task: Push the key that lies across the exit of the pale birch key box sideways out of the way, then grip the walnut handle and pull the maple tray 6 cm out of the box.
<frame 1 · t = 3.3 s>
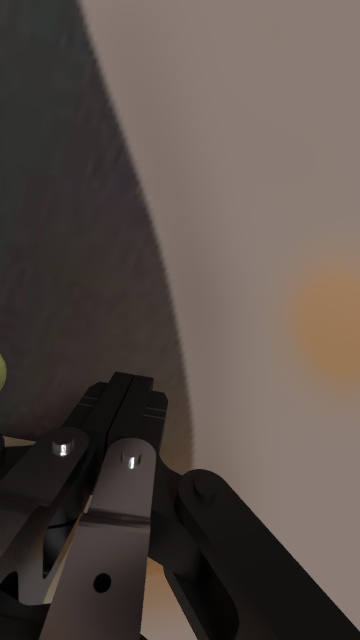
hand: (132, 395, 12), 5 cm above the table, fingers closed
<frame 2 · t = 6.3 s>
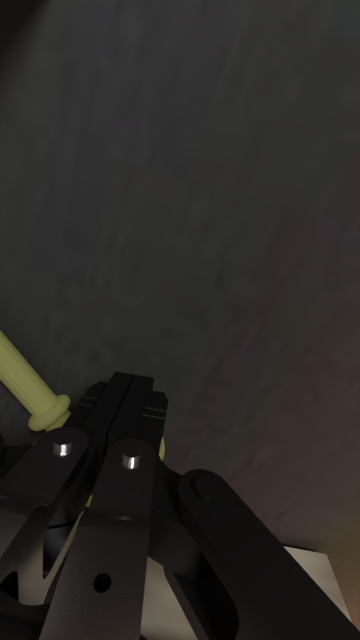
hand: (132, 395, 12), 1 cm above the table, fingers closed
key: (61, 398, 14), on the table
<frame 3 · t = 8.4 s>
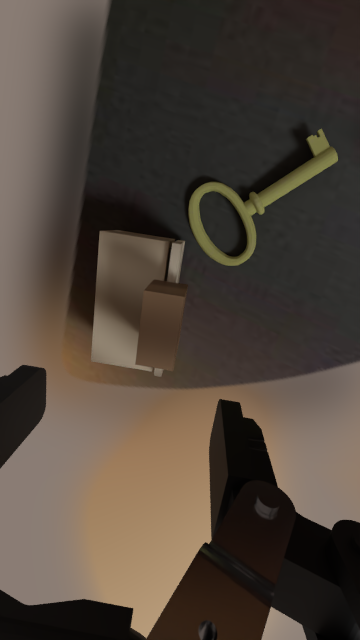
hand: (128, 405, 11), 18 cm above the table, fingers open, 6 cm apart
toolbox: (140, 292, 28), on the table
key: (253, 203, 26), on the table
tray: (148, 309, 23), point 5 cm above the table, slide at 0.0 cm
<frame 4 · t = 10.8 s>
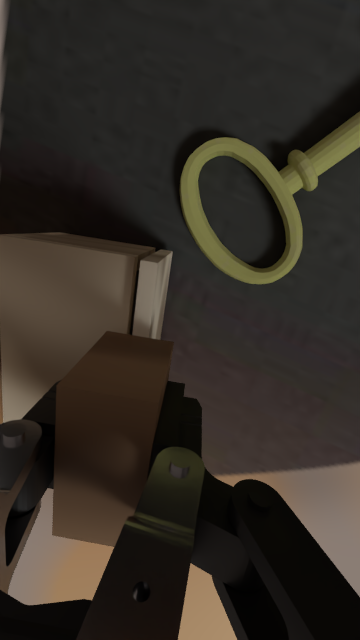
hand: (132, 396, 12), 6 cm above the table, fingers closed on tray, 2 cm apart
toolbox: (100, 333, 17), on the table
key: (293, 174, 15), on the table
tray: (101, 381, 12), point 5 cm above the table, slide at 0.0 cm, touching gripper
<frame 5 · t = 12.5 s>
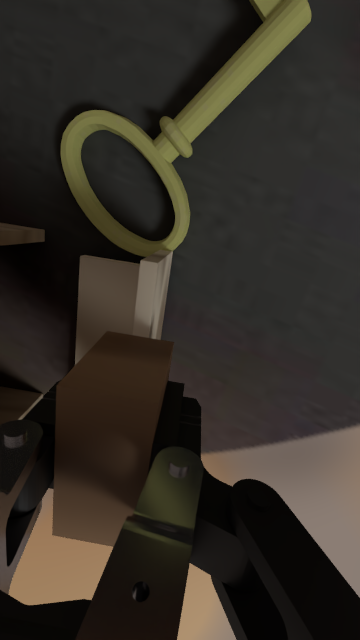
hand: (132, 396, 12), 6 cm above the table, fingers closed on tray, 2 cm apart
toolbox: (0, 316, 17), on the table
key: (176, 143, 15), on the table
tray: (101, 381, 12), point 5 cm above the table, slide at 5.9 cm, touching gripper
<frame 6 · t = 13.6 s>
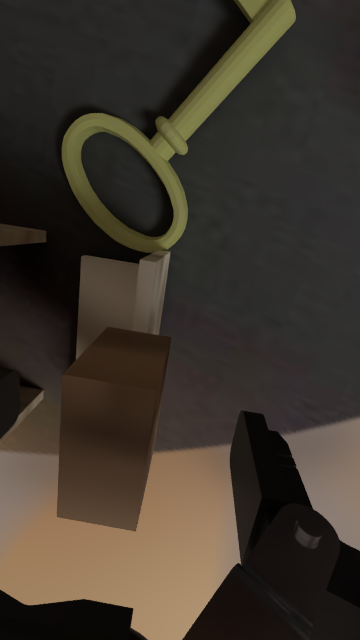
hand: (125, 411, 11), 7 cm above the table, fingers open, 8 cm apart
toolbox: (3, 314, 18), on the table
key: (172, 142, 15), on the table
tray: (102, 375, 13), point 5 cm above the table, slide at 6.0 cm
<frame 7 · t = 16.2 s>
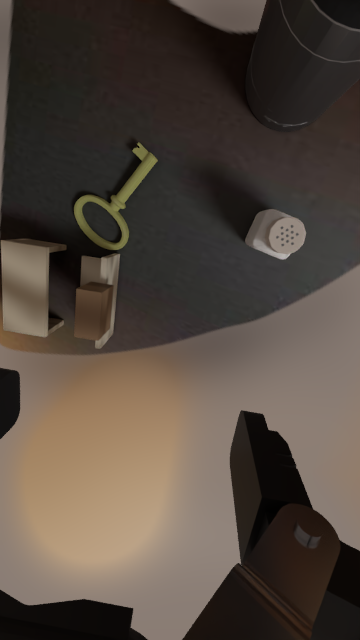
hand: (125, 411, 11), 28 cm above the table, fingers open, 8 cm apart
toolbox: (45, 283, 39), on the table
salt shaker: (265, 233, 35), on the table
key: (120, 202, 36), on the table
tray: (89, 301, 34), point 5 cm above the table, slide at 6.0 cm
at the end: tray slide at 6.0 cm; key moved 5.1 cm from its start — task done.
